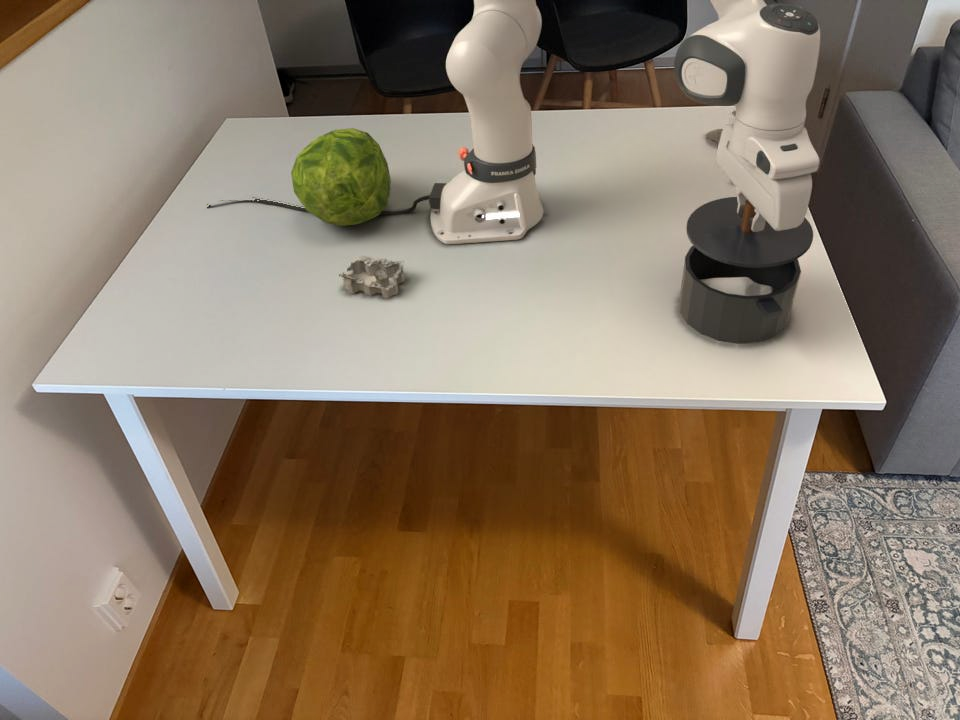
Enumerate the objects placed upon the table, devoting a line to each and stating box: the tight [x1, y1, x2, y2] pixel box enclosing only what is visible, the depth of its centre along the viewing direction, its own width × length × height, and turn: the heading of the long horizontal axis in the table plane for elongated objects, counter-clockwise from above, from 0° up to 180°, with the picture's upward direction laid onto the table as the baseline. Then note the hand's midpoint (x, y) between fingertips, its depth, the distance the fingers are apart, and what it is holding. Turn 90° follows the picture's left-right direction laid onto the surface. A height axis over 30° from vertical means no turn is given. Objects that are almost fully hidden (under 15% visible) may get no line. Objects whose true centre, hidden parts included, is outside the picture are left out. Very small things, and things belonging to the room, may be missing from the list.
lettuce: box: [290, 127, 392, 227], centre depth 148 cm, size 19×23×18 cm
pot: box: [679, 244, 802, 345], centre depth 119 cm, size 17×22×10 cm
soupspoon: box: [705, 128, 723, 143], centre depth 157 cm, size 22×3×7 cm
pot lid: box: [685, 196, 814, 268], centre depth 110 cm, size 18×18×6 cm
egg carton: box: [338, 255, 406, 299], centre depth 134 cm, size 11×8×4 cm
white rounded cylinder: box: [701, 277, 774, 296], centre depth 120 cm, size 6×12×6 cm, turn 87°
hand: (749, 222), depth 111 cm, fingers closed on pot lid, 2 cm apart
